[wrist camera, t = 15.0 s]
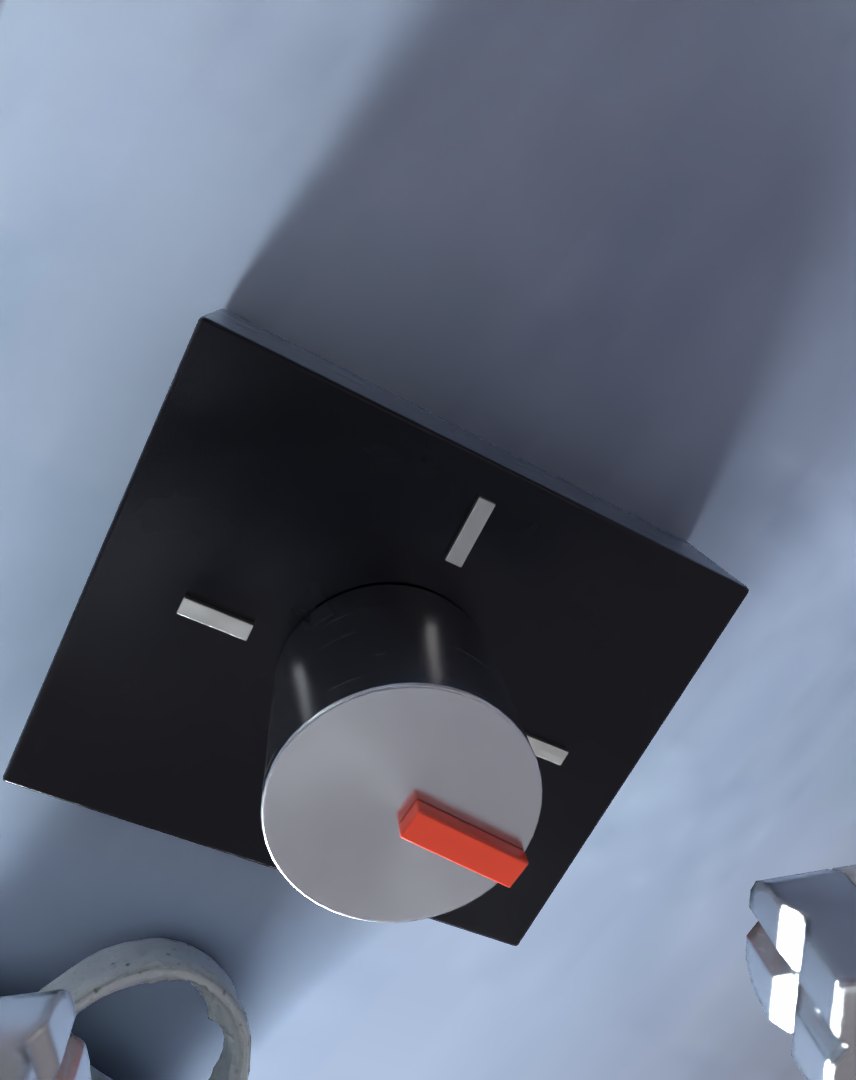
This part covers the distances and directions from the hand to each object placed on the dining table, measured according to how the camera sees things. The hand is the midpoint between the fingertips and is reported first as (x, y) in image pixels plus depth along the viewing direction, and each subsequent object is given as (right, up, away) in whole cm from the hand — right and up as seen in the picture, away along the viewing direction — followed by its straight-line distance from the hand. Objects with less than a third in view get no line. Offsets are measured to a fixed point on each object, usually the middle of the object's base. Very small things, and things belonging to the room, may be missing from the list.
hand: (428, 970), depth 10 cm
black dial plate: (-1, +3, +10) cm, 10 cm away
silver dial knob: (-1, +2, +7) cm, 7 cm away
